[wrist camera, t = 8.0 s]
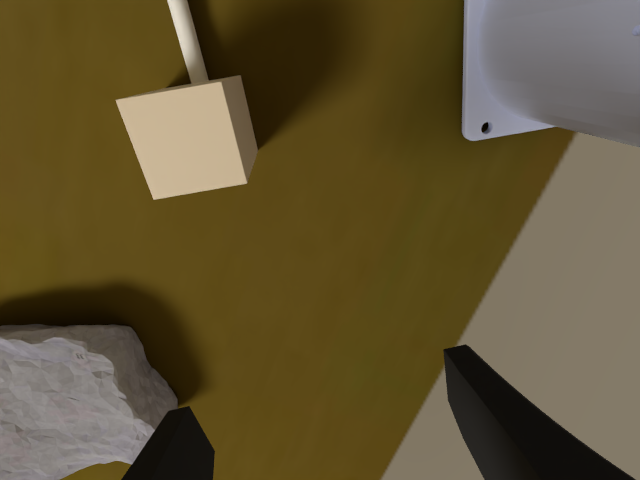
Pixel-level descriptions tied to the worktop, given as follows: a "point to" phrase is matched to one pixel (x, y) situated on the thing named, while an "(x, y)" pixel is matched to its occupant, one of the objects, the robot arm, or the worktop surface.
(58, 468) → the stone block
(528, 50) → the robot arm
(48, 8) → the worktop surface
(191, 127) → the multicoloured linked piece
